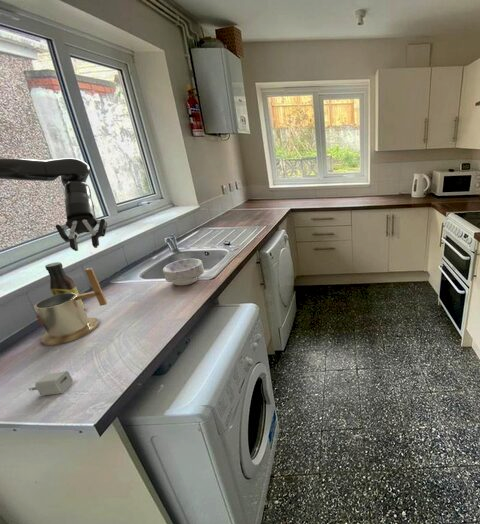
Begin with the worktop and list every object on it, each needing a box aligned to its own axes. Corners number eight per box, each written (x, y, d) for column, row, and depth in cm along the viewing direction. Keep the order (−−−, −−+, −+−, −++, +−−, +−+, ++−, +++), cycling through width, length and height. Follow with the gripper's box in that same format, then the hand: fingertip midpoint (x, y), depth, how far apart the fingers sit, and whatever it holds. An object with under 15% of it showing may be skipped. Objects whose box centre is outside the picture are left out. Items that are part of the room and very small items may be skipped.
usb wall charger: (61, 394, 69) (54, 381, 68) (29, 398, 68) (21, 386, 67) (73, 381, 73) (67, 369, 72) (43, 386, 72) (36, 373, 71)
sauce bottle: (59, 318, 103) (33, 267, 95) (77, 309, 108) (53, 260, 101) (74, 319, 102) (48, 268, 94) (91, 309, 107) (69, 260, 100)
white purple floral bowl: (186, 290, 118) (181, 273, 115) (159, 286, 123) (153, 270, 120) (213, 275, 131) (209, 259, 128) (188, 272, 136) (183, 257, 133)
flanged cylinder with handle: (44, 343, 88) (13, 288, 80) (54, 327, 96) (27, 276, 89) (110, 325, 95) (88, 273, 88) (115, 312, 103) (94, 263, 96)
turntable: (34, 351, 86) (33, 349, 85) (50, 328, 97) (49, 326, 97) (94, 335, 92) (93, 332, 92) (102, 315, 103) (101, 313, 103)
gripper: (47, 204, 97) (51, 247, 92) (100, 198, 103) (107, 238, 98) (59, 217, 103) (63, 257, 98) (108, 211, 110) (115, 249, 105)
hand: (85, 248), depth 98 cm, fingers open, 4 cm apart
